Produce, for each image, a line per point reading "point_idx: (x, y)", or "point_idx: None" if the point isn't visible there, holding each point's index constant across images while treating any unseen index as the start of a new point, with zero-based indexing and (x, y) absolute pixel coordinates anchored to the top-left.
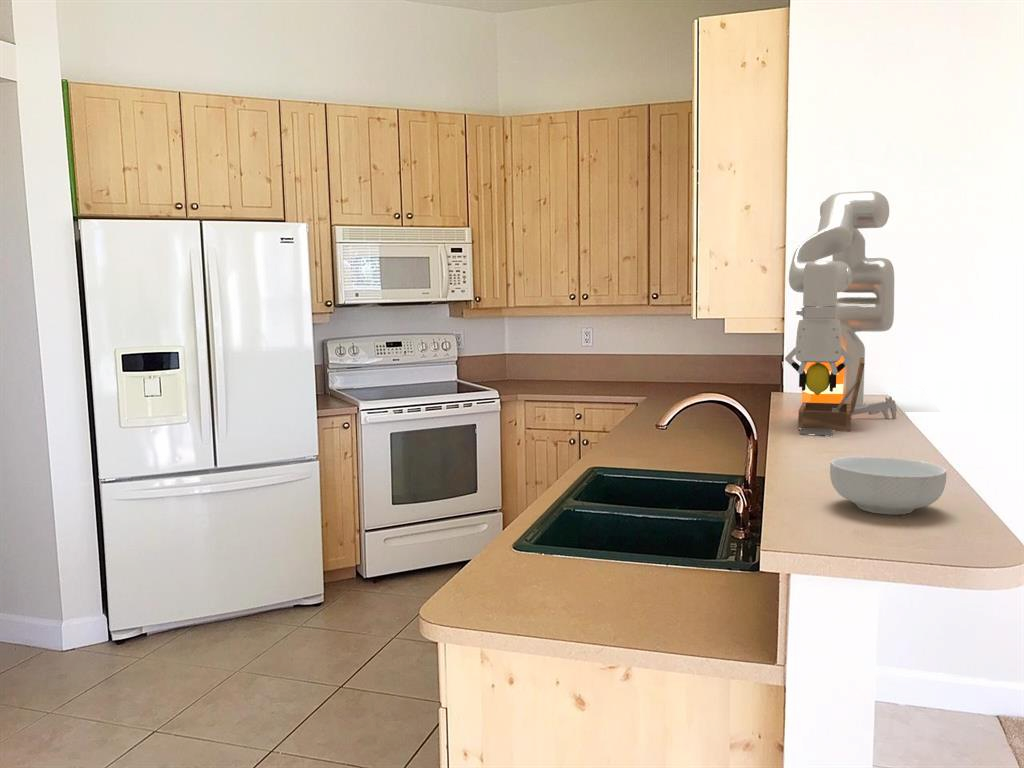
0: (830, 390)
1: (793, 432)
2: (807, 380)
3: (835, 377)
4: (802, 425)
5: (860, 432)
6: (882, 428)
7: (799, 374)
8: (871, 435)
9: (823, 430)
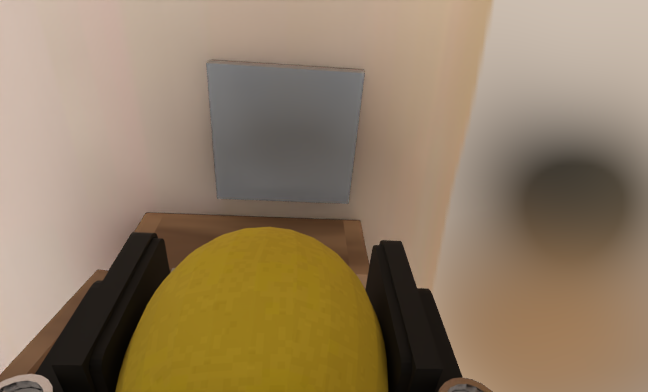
0: (150, 233)
1: (387, 133)
2: (367, 304)
3: (53, 360)
4: (344, 229)
5: (102, 201)
6: (47, 304)
7: (464, 385)
8: (34, 132)
9: (252, 151)
